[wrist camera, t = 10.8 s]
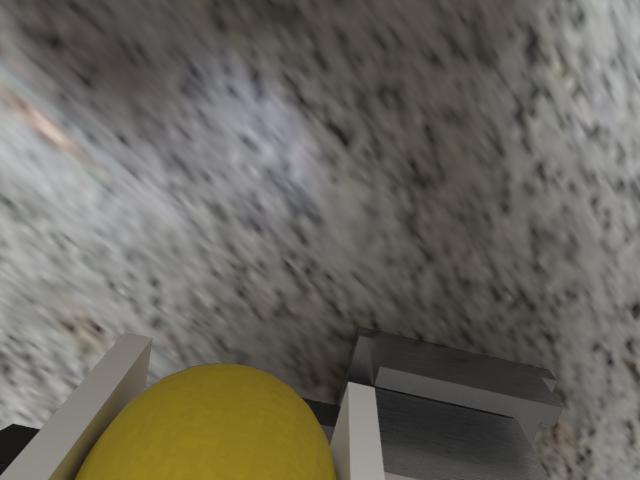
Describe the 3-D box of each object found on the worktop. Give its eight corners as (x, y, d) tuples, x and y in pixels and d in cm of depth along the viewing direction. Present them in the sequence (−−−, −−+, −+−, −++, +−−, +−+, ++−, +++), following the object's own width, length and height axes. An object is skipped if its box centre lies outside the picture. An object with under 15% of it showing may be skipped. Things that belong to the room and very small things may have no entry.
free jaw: (183, 344, 30) (138, 418, 23) (517, 419, 31) (566, 512, 24) (176, 388, 31) (130, 470, 24) (500, 460, 31) (544, 560, 25)
